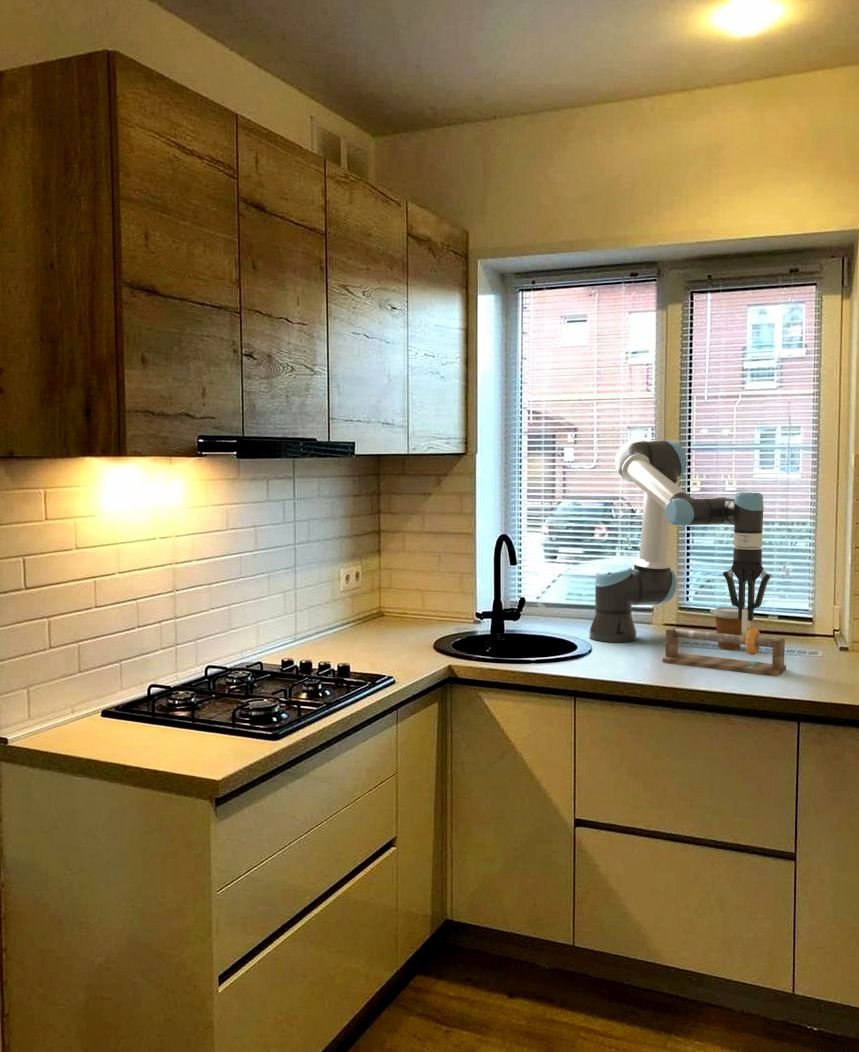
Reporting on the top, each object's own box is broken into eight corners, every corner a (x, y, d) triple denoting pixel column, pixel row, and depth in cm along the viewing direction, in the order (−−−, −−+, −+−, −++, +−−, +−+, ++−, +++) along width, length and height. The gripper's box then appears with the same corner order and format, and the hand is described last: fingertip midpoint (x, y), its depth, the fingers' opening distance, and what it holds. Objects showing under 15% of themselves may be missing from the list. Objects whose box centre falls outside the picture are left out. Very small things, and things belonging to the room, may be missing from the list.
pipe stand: (662, 662, 271) (663, 630, 271) (674, 656, 280) (674, 625, 279) (777, 676, 254) (778, 642, 253) (786, 669, 262) (787, 636, 261)
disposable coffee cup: (710, 648, 290) (711, 610, 290) (716, 643, 299) (717, 606, 298) (742, 651, 286) (743, 612, 285) (747, 646, 294) (748, 608, 294)
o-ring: (743, 657, 259) (744, 628, 259) (751, 652, 266) (752, 624, 265) (753, 658, 258) (754, 629, 257) (760, 653, 265) (761, 625, 264)
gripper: (720, 547, 261) (718, 631, 263) (768, 550, 254) (766, 636, 256) (728, 545, 268) (725, 627, 269) (775, 548, 260) (772, 632, 262)
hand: (745, 631), depth 263 cm, fingers closed
